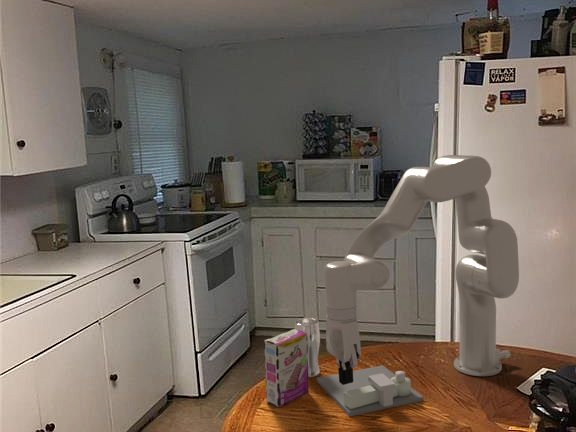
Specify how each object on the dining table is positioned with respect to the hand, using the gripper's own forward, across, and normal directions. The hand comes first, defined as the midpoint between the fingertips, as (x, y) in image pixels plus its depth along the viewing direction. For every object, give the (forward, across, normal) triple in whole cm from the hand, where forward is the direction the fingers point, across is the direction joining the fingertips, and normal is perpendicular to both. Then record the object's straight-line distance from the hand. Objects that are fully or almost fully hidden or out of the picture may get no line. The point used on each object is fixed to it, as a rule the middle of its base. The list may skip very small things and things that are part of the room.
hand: (346, 382), depth 140 cm
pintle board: (+5, -1, +7) cm, 8 cm away
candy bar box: (+4, -8, -13) cm, 15 cm away
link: (+3, +6, +6) cm, 9 cm away
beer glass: (+4, -19, -2) cm, 19 cm away
